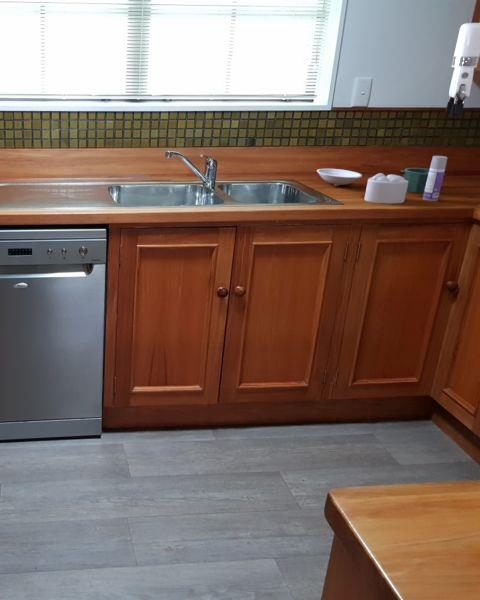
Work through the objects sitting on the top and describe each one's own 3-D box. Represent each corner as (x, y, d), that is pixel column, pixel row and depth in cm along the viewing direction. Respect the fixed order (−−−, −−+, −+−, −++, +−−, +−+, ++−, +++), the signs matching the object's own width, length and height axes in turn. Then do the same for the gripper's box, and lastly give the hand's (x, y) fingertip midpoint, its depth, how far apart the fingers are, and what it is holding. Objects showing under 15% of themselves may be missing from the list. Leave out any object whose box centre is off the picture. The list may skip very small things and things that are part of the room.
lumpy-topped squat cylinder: (408, 202, 211) (414, 177, 208) (376, 204, 208) (382, 179, 205) (387, 195, 221) (392, 171, 217) (356, 197, 217) (361, 173, 214)
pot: (438, 188, 233) (442, 169, 230) (443, 195, 223) (448, 175, 220) (395, 185, 238) (399, 166, 235) (398, 191, 228) (402, 172, 225)
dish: (368, 188, 231) (371, 175, 229) (341, 191, 225) (344, 178, 223) (332, 179, 246) (334, 167, 244) (305, 182, 240) (308, 170, 238)
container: (436, 198, 217) (446, 156, 212) (438, 201, 213) (449, 158, 207) (421, 197, 219) (431, 155, 213) (423, 200, 215) (433, 157, 209)
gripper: (483, 63, 198) (470, 118, 204) (472, 62, 213) (460, 112, 219) (457, 63, 200) (445, 117, 207) (447, 61, 215) (436, 112, 222)
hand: (453, 114), depth 213 cm, fingers open, 9 cm apart
